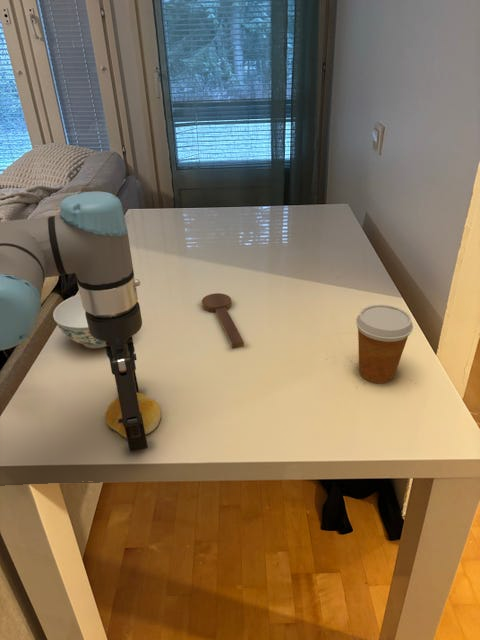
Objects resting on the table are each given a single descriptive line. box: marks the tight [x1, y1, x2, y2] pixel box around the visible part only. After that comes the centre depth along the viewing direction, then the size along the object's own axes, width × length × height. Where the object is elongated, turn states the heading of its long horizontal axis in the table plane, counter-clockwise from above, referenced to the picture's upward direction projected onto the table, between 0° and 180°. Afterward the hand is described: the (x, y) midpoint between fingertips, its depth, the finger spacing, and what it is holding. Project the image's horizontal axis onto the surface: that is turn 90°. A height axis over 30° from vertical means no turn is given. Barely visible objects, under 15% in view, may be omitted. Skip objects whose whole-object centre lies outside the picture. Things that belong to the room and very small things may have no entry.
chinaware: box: [52, 293, 106, 349], centre depth 96 cm, size 15×15×8 cm
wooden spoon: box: [201, 292, 244, 349], centre depth 103 cm, size 7×22×1 cm, turn 16°
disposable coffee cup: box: [355, 304, 414, 384], centre depth 83 cm, size 10×10×12 cm
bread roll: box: [104, 392, 162, 438], centre depth 76 cm, size 8×9×4 cm
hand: (134, 419), depth 77 cm, fingers open, 12 cm apart
